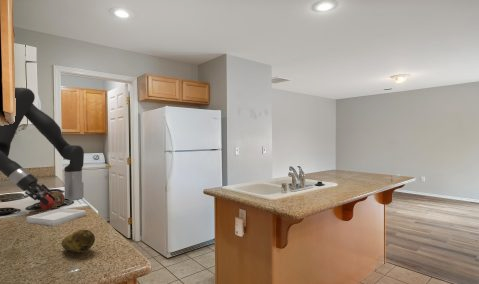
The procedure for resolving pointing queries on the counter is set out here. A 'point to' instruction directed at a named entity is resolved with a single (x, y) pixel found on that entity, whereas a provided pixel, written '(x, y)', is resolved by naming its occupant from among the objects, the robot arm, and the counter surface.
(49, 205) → the red rounded lump
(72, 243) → the potato
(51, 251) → the counter surface
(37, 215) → the tray
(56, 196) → the tin
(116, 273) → the counter surface
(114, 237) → the counter surface
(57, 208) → the collar
